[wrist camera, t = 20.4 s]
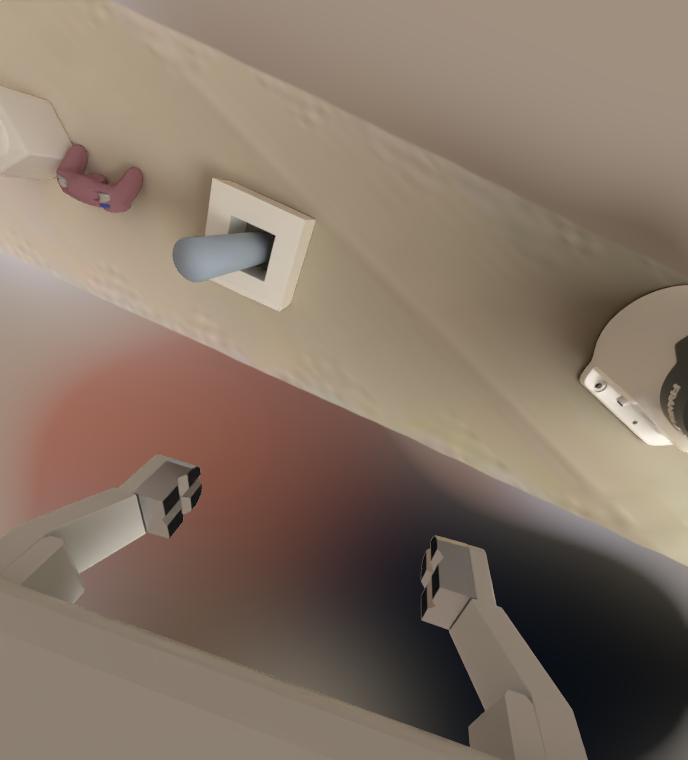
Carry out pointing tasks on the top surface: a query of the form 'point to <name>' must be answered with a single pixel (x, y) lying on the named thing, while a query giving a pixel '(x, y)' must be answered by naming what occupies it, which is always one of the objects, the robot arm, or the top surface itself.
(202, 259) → the peg
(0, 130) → the medicine bottle
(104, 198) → the video game controller
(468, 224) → the top surface
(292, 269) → the socket block
